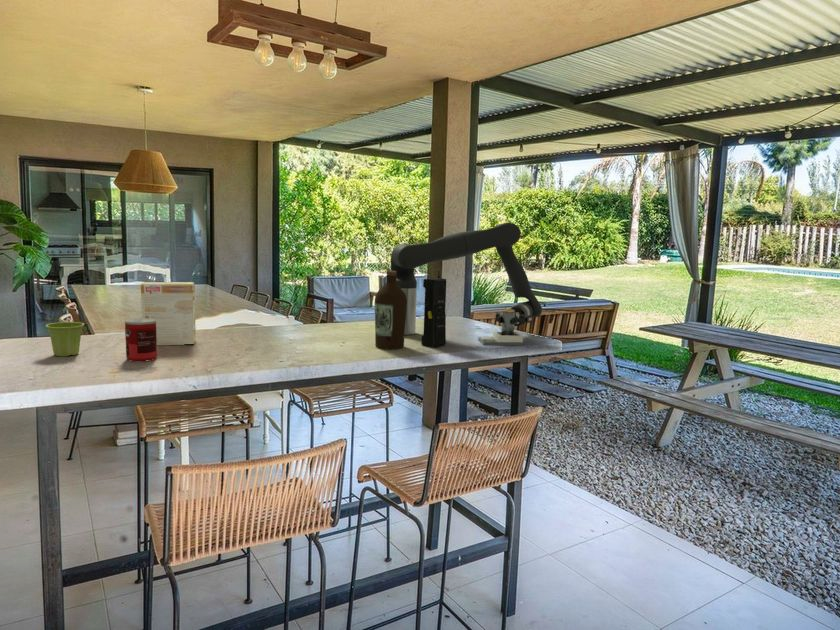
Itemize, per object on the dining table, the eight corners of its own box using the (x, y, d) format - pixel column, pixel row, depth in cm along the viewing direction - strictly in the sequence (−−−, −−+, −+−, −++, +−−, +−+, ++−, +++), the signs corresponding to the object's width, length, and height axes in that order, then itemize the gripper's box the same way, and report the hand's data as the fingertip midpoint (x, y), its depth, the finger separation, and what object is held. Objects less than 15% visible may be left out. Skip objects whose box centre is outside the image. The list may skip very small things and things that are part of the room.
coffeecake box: (196, 341, 194) (195, 281, 191) (193, 345, 187) (192, 283, 184) (146, 341, 190) (144, 281, 187) (142, 346, 183) (140, 283, 180)
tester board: (483, 344, 204) (484, 335, 203) (478, 340, 212) (478, 331, 212) (523, 345, 205) (523, 336, 205) (515, 340, 214) (516, 331, 214)
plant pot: (90, 351, 173) (89, 322, 172) (78, 358, 164) (76, 327, 163) (56, 351, 172) (54, 321, 170) (41, 358, 162) (39, 327, 161)
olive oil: (385, 342, 202) (387, 269, 199) (411, 346, 196) (414, 271, 193) (367, 347, 193) (368, 270, 190) (393, 351, 188) (395, 272, 184)
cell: (502, 339, 207) (504, 309, 205) (499, 336, 211) (501, 307, 209) (515, 339, 207) (516, 309, 205) (511, 336, 211) (513, 307, 210)
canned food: (134, 355, 169) (133, 317, 168) (162, 356, 169) (161, 318, 168) (120, 361, 162) (119, 321, 160) (149, 362, 162) (148, 322, 160)
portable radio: (433, 348, 195) (436, 272, 191) (418, 345, 198) (421, 271, 195) (446, 345, 201) (449, 271, 197) (432, 342, 204) (435, 270, 201)
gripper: (500, 303, 223) (487, 308, 208) (537, 306, 218) (527, 311, 202) (499, 323, 224) (486, 329, 209) (536, 326, 219) (525, 333, 203)
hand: (506, 320), depth 206 cm, fingers closed on cell, 4 cm apart
